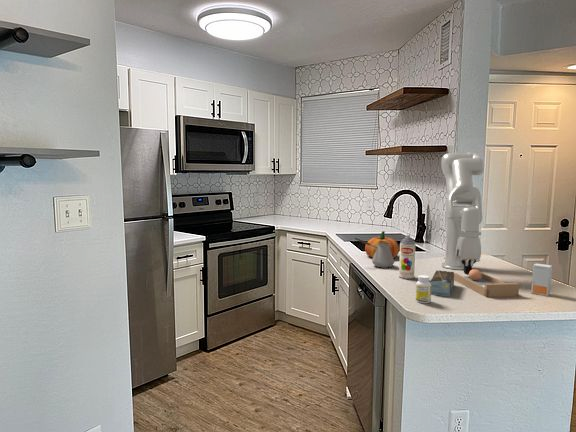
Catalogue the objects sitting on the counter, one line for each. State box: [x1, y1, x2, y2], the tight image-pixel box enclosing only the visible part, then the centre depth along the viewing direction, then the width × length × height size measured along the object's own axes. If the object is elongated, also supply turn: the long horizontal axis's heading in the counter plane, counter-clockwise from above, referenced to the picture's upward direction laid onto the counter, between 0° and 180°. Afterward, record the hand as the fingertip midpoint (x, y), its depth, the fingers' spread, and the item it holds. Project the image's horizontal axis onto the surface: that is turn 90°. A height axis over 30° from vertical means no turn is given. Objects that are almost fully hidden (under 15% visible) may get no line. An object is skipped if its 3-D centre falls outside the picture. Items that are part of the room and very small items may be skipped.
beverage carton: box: [429, 270, 455, 297], centre depth 172 cm, size 8×19×7 cm, turn 154°
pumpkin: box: [364, 231, 400, 259], centre depth 237 cm, size 19×19×15 cm
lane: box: [454, 272, 520, 298], centre depth 176 cm, size 27×13×5 cm, turn 5°
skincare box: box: [530, 263, 553, 297], centre depth 167 cm, size 6×4×12 cm
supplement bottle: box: [415, 274, 432, 304], centre depth 156 cm, size 5×5×10 cm
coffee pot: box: [353, 237, 395, 269], centre depth 214 cm, size 21×12×15 cm, turn 88°
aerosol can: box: [398, 234, 416, 280], centre depth 191 cm, size 7×7×20 cm
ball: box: [468, 268, 482, 280], centre depth 183 cm, size 5×5×5 cm
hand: (467, 274), depth 189 cm, fingers closed
